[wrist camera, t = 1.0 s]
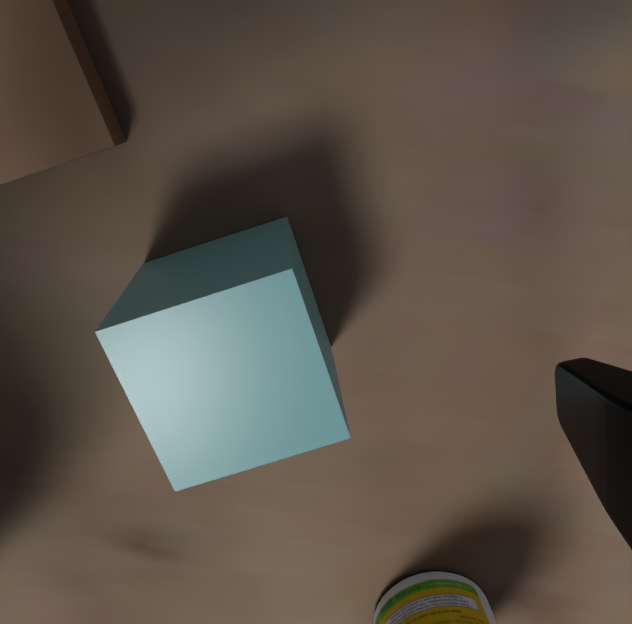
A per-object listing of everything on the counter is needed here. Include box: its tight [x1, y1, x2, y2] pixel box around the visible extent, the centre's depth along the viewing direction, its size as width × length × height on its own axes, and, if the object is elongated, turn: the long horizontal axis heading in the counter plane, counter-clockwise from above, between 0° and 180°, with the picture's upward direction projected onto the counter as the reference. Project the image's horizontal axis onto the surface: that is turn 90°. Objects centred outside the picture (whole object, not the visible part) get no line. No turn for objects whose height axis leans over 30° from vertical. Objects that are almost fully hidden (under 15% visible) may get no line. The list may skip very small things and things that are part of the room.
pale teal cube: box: [95, 216, 351, 491], centre depth 18 cm, size 5×5×6 cm
